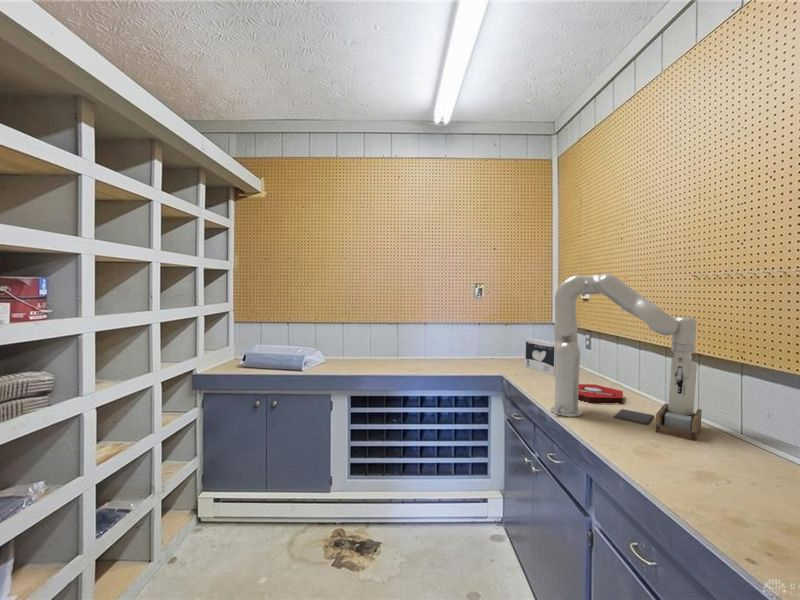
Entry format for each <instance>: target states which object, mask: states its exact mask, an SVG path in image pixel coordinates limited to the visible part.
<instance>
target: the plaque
mask: <svg viewBox="0 0 800 600" xmlns="http://www.w3.org/2000/svg"><path fill="white" fill-rule="evenodd" d="M623 392H624V391H623V390H619V389H615V388H611V387H606V386H604V385H599V384H590V383H589V384H588V383H587V384H585V383H579V398H578V400H580V401H579V402H582V401H584V402H583V403H585V402H588V403H587V404H589V403H619V404H618V405H623V399H622V398H623V396H624V394H623Z"/></svg>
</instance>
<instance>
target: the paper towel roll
mask: <svg viewBox="0 0 800 600" xmlns="http://www.w3.org/2000/svg"><path fill="white" fill-rule="evenodd" d="M678 367H679V366H678ZM697 367H698V362H697V361H691V365H690V377H689V378H688V379H687V378H686V377H685V379H684V386H685V393H684V386H682V393H681V394H679V393H678V385H675V382H676V377H675V376H674V374H673V371H674V358H671V364H670V376H669V378H670V379H669V392H668V403H667V404H668V411H669V412H671V413H675V414H680V415H693V413H694V411H695V410H694V409H695V408H694V407H695V397H696V395H695V394H696V381H697V369H698V368H697ZM675 375H677V373H675ZM681 377H682V378H683V376H681ZM682 380H683V379H682ZM679 389H680V387H679ZM679 392H680V390H679Z"/></svg>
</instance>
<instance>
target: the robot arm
mask: <svg viewBox="0 0 800 600" xmlns="http://www.w3.org/2000/svg"><path fill="white" fill-rule="evenodd" d="M600 294H601V295H604V296H605V297H606V298H608V299H609V300H610V301H612V302H613V303H614V304H616V305H617V306H618V307H619V308H621V309H622V310H623V311H625V312H626V313H628V314H631V315H632V316H634V317H637V318H638V319H640V320H641V321H643V322H644V323H645V324H646V325H648V328H649V329H650V330H651V331H652V332H653V333H656V334H659V335H661V336H670V335H671V345H670V346H671V347H670V351H671V352H673V353H674V354H673V355H674V356H673V359H674V371H673V374H674V376H675V377H676V382H675V385H678V393H679V394H681V393H682V386H684V379H685V377H686V378H687V379H688V378H689V377H690V365H691V362H693V361H692V359H693V358H692V357H693V356H692V354H695V351H696V338H697V319H696V318H693V317H687V316H677V317H674V316H671V315H669V314H668V313H667V312H666V311H664V310H663V309H661V308H660V307H658V306H657V305H656V304H654V303H652V301H649V300H648V299H647V298H646V297H644V296H643V295H642V294H640V293H638V292H637V291H636V290H635V289H633V288H632V287H630V286H629V285H628V284H626V283H625V282H623V281H622V280H620V279H619V278H618V277H617V276H615V275H614V274H611V273H603V274H602V273H601V274H593V275H580V274H574V275H572V276H569V277H568V278H567V279H565V280H564V281H563V282H561V284H559V286H558V288H557V290H556V292H555V295H554V323H553V327H554V331H553V332H554V343H555V347H556V367H555V376H554V378H555V379H554V405H553V406H551V407H550V411H551V413H553V414H555V415H559V416H561V417H562V416H564V417H571V418H572V417H573V418H575V417H580V416H583V410H581V409H580V408H579V401H578V398H579V384H580V364H581V349H580V346H579V343H578V328H579V325H578V320H577V304H576V302H577V299H578V297H579V296H580V295H581V296H582V295H600ZM678 366H679V367H678ZM675 373H677V375H675ZM681 376H683V378H682V377H681ZM682 379H683V380H682ZM679 387H680V389H679ZM679 390H680V392H679ZM684 393H685V386H684Z"/></svg>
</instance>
